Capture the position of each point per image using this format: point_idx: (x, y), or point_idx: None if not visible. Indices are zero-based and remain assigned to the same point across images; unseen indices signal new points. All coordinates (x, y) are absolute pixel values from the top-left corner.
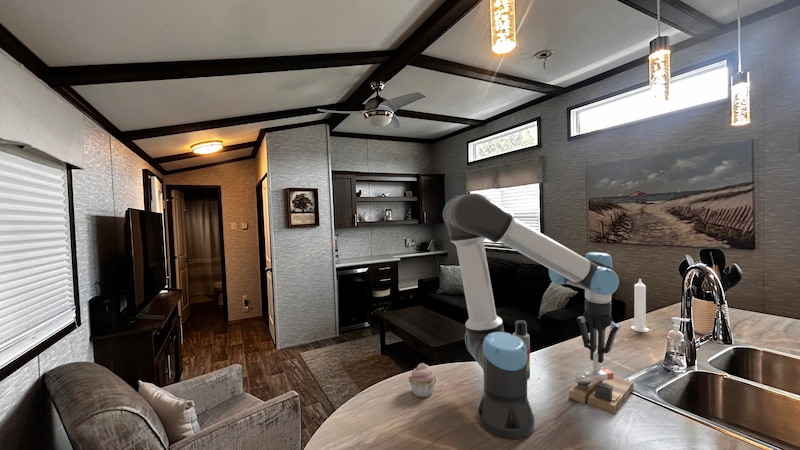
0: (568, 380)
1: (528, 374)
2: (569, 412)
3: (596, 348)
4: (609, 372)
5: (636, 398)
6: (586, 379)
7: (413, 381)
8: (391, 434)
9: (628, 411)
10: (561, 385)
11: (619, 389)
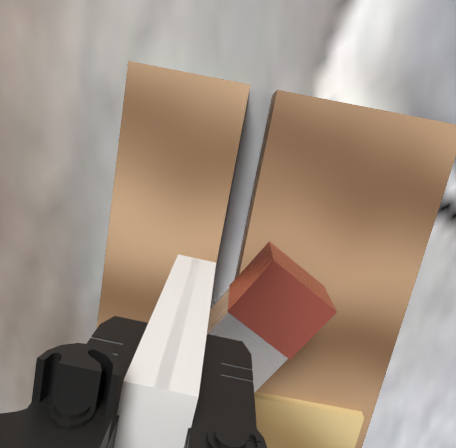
0: (24, 238)
1: None
2: None
3: (113, 409)
4: (303, 328)
5: (439, 257)
6: None
7: None
8: None
9: (386, 433)
10: (12, 333)
11: (357, 328)
